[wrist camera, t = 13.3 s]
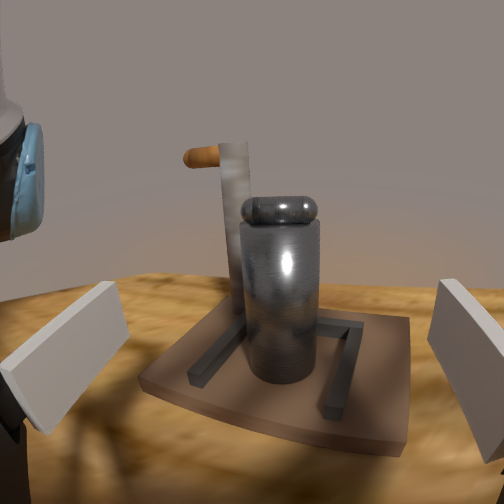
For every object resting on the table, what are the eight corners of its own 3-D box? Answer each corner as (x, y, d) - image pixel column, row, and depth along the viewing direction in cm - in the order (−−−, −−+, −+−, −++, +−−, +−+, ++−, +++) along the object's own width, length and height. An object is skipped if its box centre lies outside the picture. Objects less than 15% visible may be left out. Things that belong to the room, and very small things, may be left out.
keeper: (125, 383, 21) (72, 161, 16) (213, 305, 33) (196, 147, 28) (399, 457, 13) (467, 129, 8) (406, 331, 25) (422, 140, 20)
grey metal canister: (244, 382, 19) (228, 205, 16) (255, 343, 23) (245, 192, 20) (315, 385, 18) (321, 203, 15) (315, 344, 23) (317, 190, 19)
